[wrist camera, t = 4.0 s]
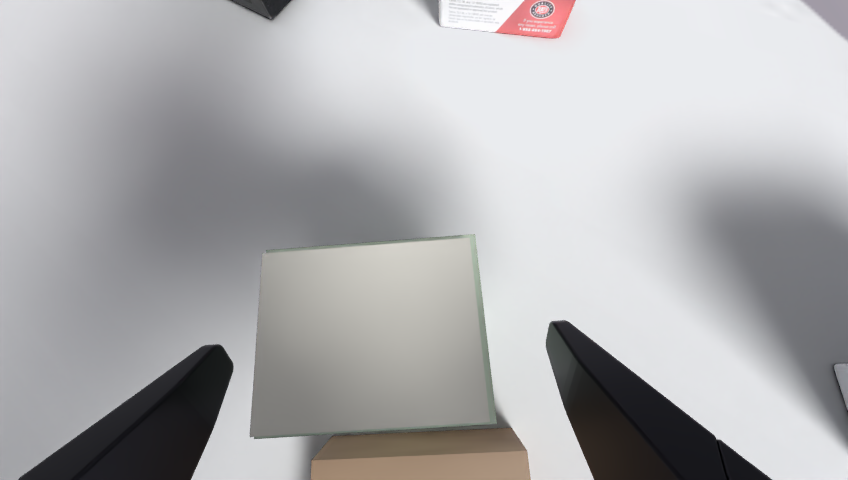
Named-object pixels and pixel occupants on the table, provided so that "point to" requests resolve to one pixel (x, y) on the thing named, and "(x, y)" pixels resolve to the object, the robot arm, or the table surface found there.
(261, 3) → the graphics card box
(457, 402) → the tea tin
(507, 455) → the walnut block
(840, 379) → the ink box
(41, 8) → the table surface
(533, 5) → the ink cartridge box
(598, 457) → the robot arm
